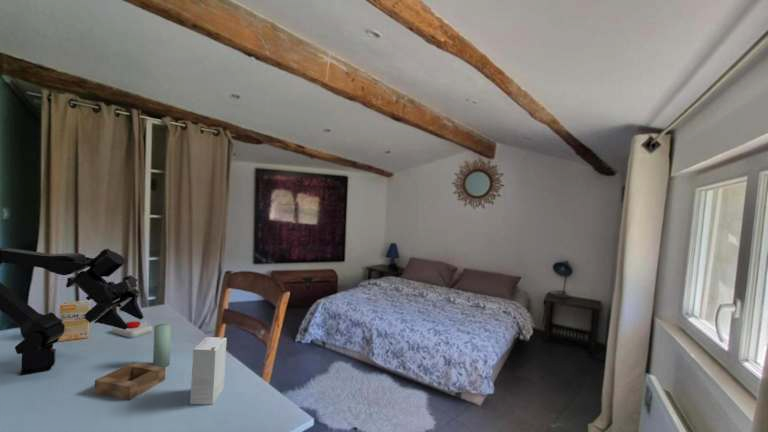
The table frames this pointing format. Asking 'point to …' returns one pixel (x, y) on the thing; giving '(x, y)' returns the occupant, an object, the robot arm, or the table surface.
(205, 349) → the skincare box
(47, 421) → the table surface
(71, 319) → the supplement box
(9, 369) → the table surface
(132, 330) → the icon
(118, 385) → the square wooden frame
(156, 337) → the sage peg
